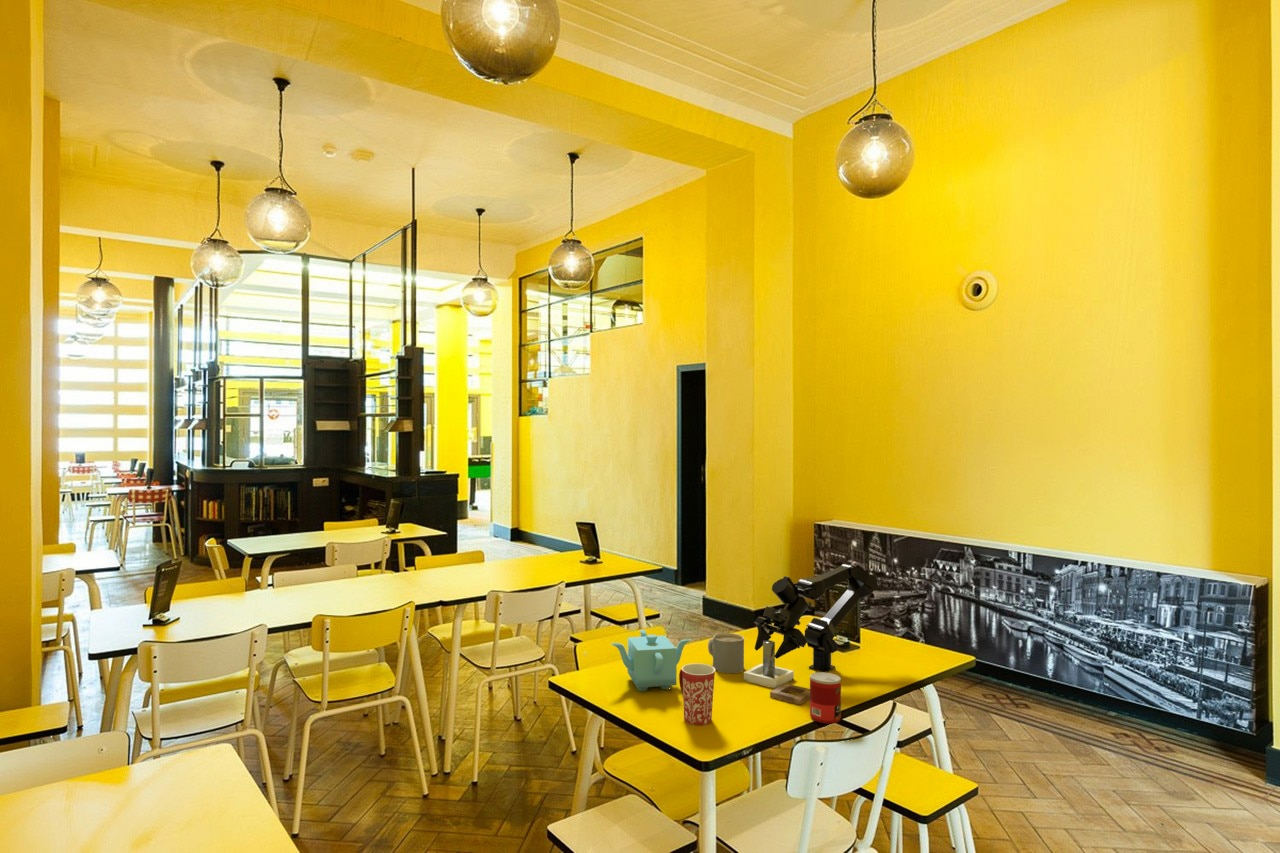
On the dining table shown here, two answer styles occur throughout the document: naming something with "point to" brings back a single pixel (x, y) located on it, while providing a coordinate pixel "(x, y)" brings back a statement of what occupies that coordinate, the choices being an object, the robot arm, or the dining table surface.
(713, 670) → the mug
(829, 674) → the canned food
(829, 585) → the robot arm
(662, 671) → the teakettle
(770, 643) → the strut
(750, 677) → the bin tray
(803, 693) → the brown flat square frame
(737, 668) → the coffee mug
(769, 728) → the dining table surface
